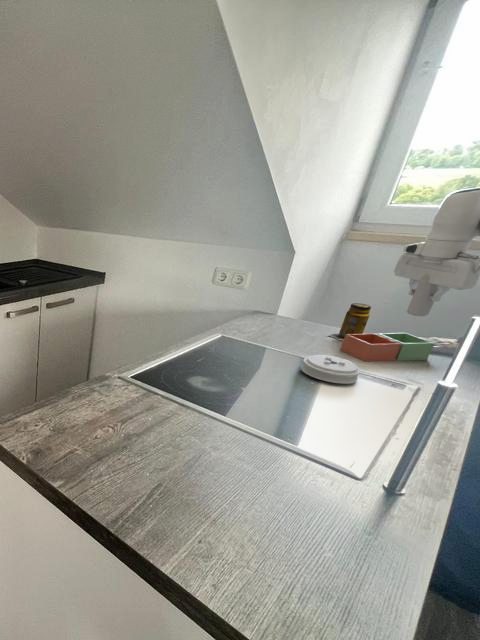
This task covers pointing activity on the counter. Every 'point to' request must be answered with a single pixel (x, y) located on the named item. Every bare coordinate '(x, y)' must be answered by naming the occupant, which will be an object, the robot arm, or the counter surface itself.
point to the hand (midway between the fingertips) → (423, 297)
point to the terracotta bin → (370, 347)
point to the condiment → (354, 321)
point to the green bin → (410, 346)
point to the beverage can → (422, 298)
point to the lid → (330, 369)
